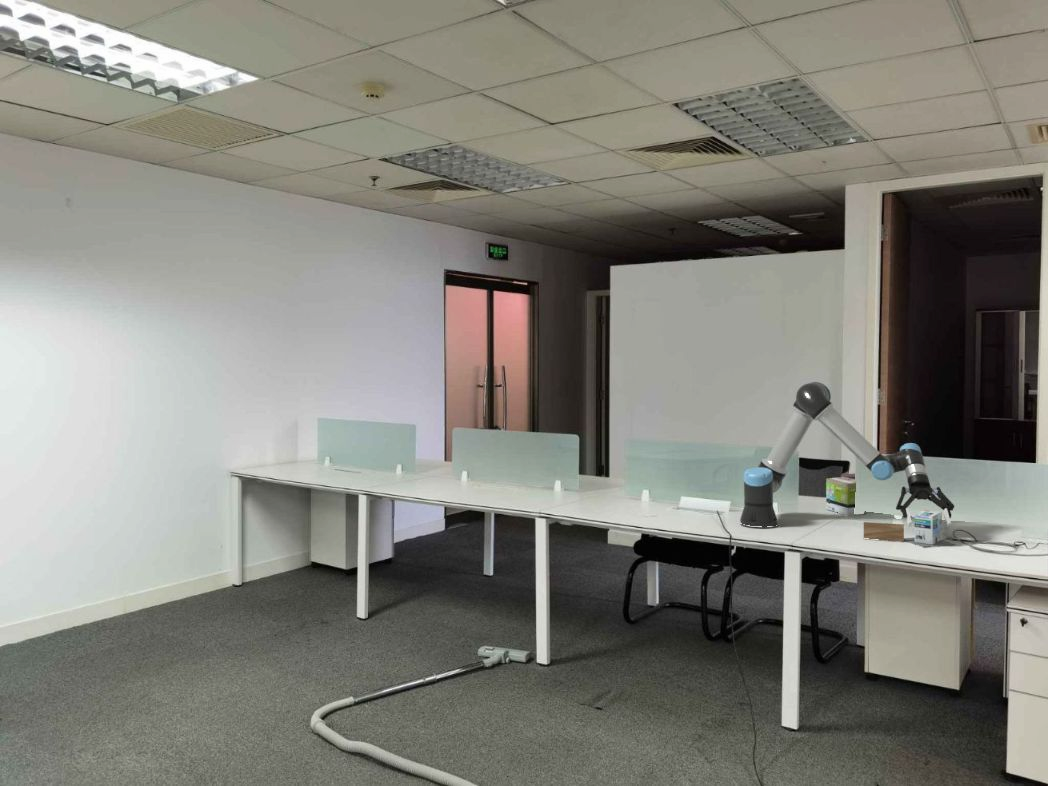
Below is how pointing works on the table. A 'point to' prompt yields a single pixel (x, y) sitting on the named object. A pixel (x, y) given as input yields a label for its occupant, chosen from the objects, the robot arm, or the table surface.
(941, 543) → the charcoal mat
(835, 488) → the tea box
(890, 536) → the oak screen
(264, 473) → the table surface
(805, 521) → the table surface
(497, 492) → the table surface
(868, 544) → the table surface
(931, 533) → the light bulb box
